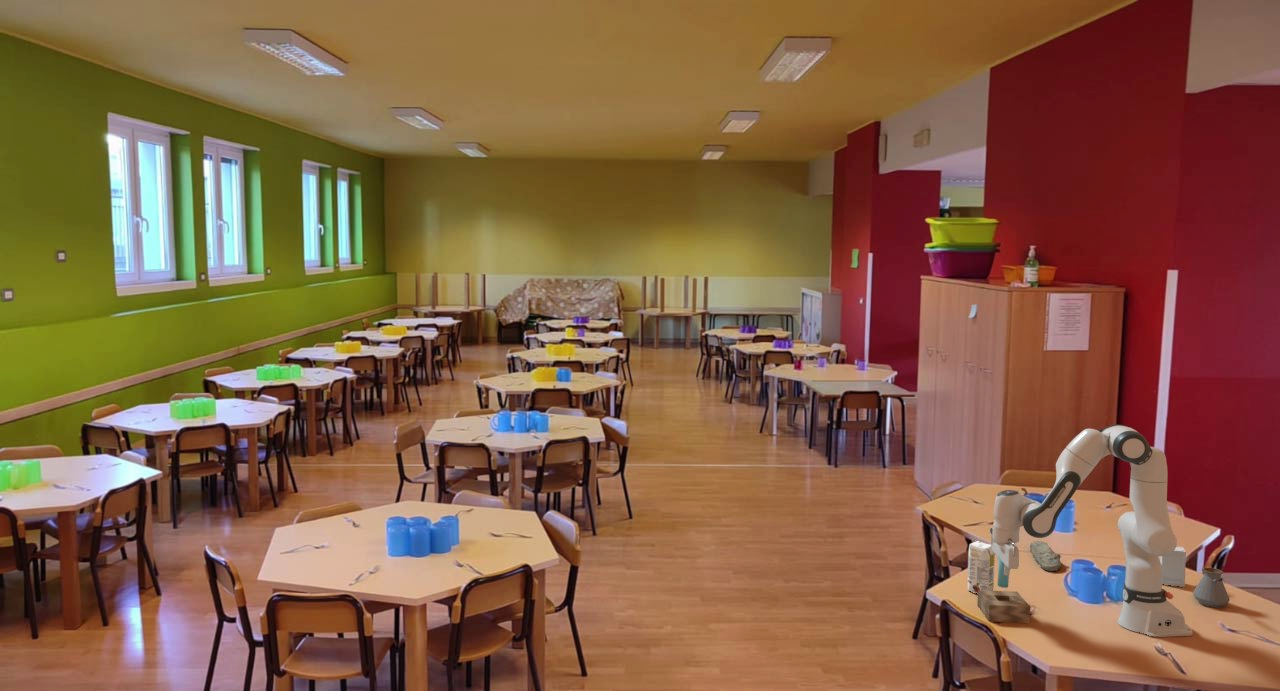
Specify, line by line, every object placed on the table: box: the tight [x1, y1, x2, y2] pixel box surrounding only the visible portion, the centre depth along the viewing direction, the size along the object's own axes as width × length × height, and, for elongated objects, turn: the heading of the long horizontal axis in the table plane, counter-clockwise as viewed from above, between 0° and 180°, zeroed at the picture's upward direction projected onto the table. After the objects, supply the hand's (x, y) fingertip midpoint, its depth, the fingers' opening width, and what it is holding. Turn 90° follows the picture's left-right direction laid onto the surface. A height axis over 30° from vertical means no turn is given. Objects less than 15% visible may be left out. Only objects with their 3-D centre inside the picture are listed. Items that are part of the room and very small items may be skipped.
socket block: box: [976, 590, 1031, 624], centre depth 311 cm, size 14×14×6 cm
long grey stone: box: [1029, 540, 1062, 572], centre depth 370 cm, size 35×5×10 cm
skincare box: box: [1159, 546, 1187, 588], centre depth 340 cm, size 8×6×15 cm
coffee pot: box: [1192, 567, 1231, 609], centre depth 316 cm, size 21×12×15 cm, turn 156°
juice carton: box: [967, 540, 996, 595], centre depth 332 cm, size 8×9×19 cm
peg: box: [997, 553, 1010, 589], centre depth 310 cm, size 4×4×12 cm
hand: (1003, 572), depth 310 cm, fingers closed on peg, 4 cm apart
